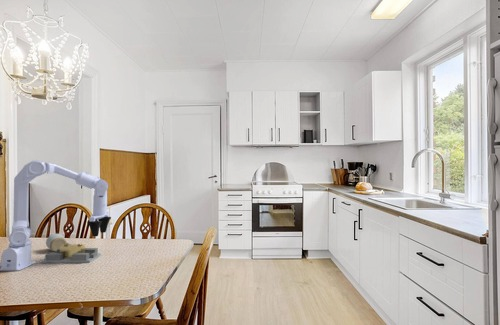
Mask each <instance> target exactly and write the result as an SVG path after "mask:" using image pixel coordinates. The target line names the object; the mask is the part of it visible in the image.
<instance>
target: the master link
mask: <svg viewBox="0 0 500 325" xmlns="http://www.w3.org/2000/svg"><path fill="white" fill-rule="evenodd" d="M85 248H86V244H82V243H78V244H75V243H74V244H72V243H69V244H64V245H62V246H60V253H63V258H72V254H74V253H85Z"/></svg>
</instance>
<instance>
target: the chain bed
mask: <svg viewBox="0 0 500 325" xmlns="http://www.w3.org/2000/svg"><path fill="white" fill-rule="evenodd" d="M98 249H99V248H98V247H85V253H74V254H72V258H63V253H60V248H59V249H57V252H54V251H51V252H49V253H46V254H45V256H44V259H42V260H41V264H43V263H44V264H64V263H65V264H68V263H69V264H81V263H82V264H83V263H84V264H86V263H87V264H89V263H91V262H93V261H94V260H96V259H98V258H99V257H101V255H102V253H100V252H99V250H98Z"/></svg>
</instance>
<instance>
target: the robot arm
mask: <svg viewBox="0 0 500 325" xmlns="http://www.w3.org/2000/svg"><path fill="white" fill-rule="evenodd" d="M45 174H57V175H59V176H63V177H65V178H69V179H72V180H74V181H75V183H76V184H77V185H80V186H82V187H84V188H88V189H92V190H93V189H94V194H93V204H92V215H91V216H89V220H87V225H88V226H89V228H90V231H91V236H92V237H98V236H99V234H100V233H101V234H102V233H106V232H107V228H108V227H109V226H108V225H109V223H110V221H111V219H112V216H110V212H109V211H108V195H107V194H108V189H109V184H108V182H107V181H106V180H104V179H102V178H100V177H99V176H94V175H93V174H92V175H91V174H90V173H89V172H87V171H85V172H84V171H82V172H79V173H78V172H75V171H73V170H70V169H68V168H65V167H62V166H60V165H58V164H55V163H50V162H45V161H43V160H38V159H36V160H32V161H29V162H28V163H26V164H24V165H23V167H22V168H21V170H20V171H18V173H17V174H16V175H15V176H14V178H13V217H12V218H13V220H12V221H13V223H12V227H11V233H10V234H9V236H8V242H9V243H8V247H7V248H6V249H4V250H3V251H2V253H1V259H0V271H1V272H3V271H8V272H9V271H11V272H12V271H13V272H15V271H16V272H17V271H21V270H23V269H26V268H28V267H30V266H32V265H34V264H37V261H31V260H32V241H31V240H30V238H31V236H32V234H33V232H32V229H31V227H30V222H29V221H30V220H29V204H30V203H29V201H30V200H29V196H30V194H29V193H30V191H29V190H30V189H29V188H30V185H29V184H30V182H32V181H33V180H35V178H37V177H39V176H42V175H45ZM99 232H100V233H99Z"/></svg>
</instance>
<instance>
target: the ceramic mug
mask: <svg viewBox="0 0 500 325" xmlns="http://www.w3.org/2000/svg"><path fill="white" fill-rule="evenodd" d="M64 244H70V243H69V242H68V241H67V239H66V238H65V237H64V235H63V234H61V233H52V234H50V235H49V236H48V237H47V238H46V242H45V245H46V247H47V248H48V249H49V250H50V251H51V252H56V253H57V249H59V248H60V246H62V245H64Z"/></svg>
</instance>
